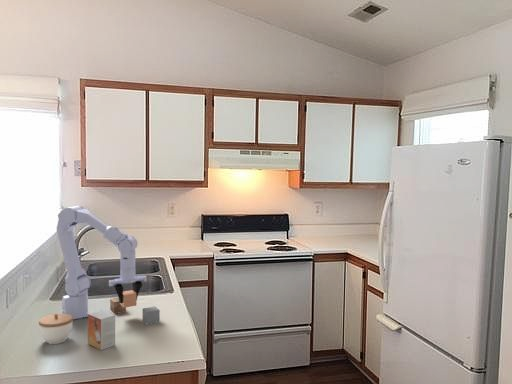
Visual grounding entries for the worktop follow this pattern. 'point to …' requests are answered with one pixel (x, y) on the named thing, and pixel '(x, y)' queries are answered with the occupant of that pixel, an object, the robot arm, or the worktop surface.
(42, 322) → the lidded jar
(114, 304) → the walnut cube
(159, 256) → the worktop surface
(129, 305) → the terracotta cube
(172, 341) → the worktop surface
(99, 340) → the small box
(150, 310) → the slate cube
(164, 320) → the worktop surface
